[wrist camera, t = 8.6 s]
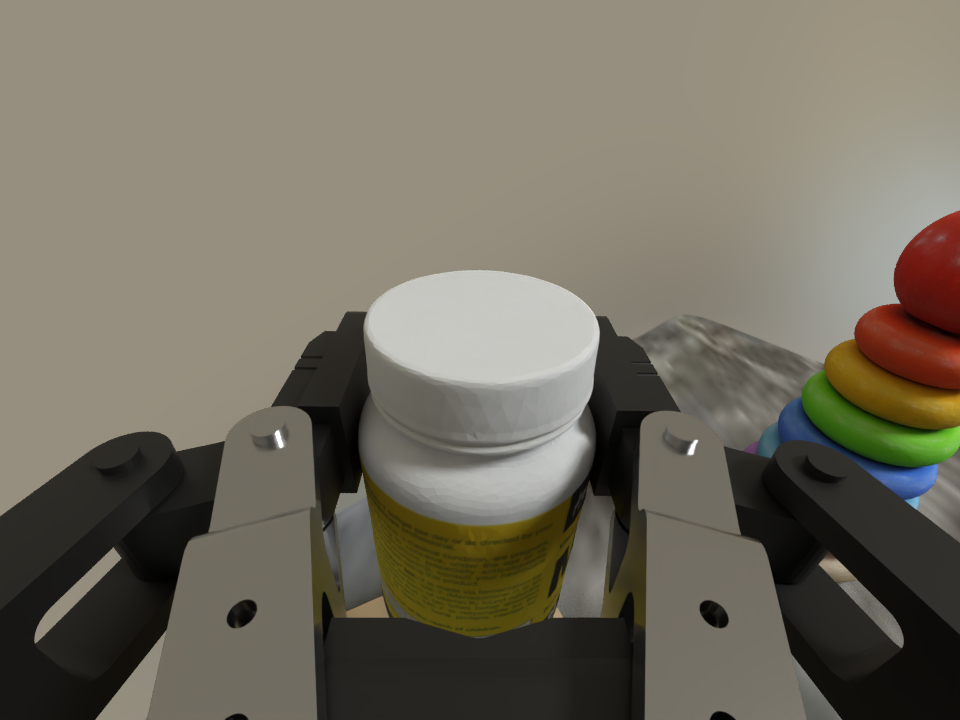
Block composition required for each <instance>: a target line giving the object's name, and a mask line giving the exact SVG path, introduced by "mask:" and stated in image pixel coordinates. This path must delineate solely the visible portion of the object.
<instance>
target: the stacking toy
mask: <svg viewBox="0 0 960 720" xmlns="http://www.w3.org/2000/svg"><path fill="white" fill-rule="evenodd" d="M894 287H895V292H896V295H897V297H898V299H899V301H900V303H901V304H890V305H883V306H879V307H876V308H874V309H872V310H870V311H868V312H867V313H865V314H864V315H863V316H862V317H861V318H860V319H859V321H858V323H857V325H856V327H855V332H854V335H855V339H852V340H849V341H845V342H843V343H841V344H839V345H837V346H836V347H834V348H833V349H832V350H831V351H830V352H829V353H828V355H827V357H826V359H825V364H824V370H823V371H821V372H818V373H817V374H815V375H814V376H812V377H811V378H810V379H809V380H808V381H807V382H806V384H805V386H804V388H803V391H802V397H799V398H797V399H795V400H793V401H791V402H790V403H789V404H787V405H786V406H785V407H784V409H783V410H782V412H781V414H780V416H779V420H778V422H777V423H775V424H773V425H771V426H770V427H769V428H767V429H766V430H765V431H764V433H763V434H762V436H761V438H760V440H759V441H757V442H755V443H753V444H751V445H750V446H748V447H747V448H746V449H745V450H744V451H743V452H747V453H752V454H756V455H760V456H764V457H768V458H771V457H772V455H773V454H774V452H775V450H776V449H777V447H778V446H779V445H780V444H782V443H783V442H786V441H791V440H803V441H810V442H814V443H818V444H821V445H824V446H827V447H829V448H832V449H834V450H836V451H838V452H840V453H842V454H843V455H845V456H847V457H848V458H850V459H851V460H853V461H854V462H855V463H857V464H858V465H859V466H861V467H862V468H863V469H864V470H866V471H867V472H868V473H870V474H871V475H872V476H874V477H875V478H876V479H877V480H879V481H880V482H881V483H883V484H884V485H885V486H886V487H888V488H889V489H890V490H892V491H893V492H894V493H896V494H897V495H898V496H899V497H901V498H902V499H903V500H905V501H906V502H907V503H909V504H910V505H911V506H912V507H914V508H915V509H916V510H917V509H918V506H919V500H920V498H919V496H920V495H922V494H924V493H925V492H927V491H928V490H929V489H930V488H931V487H932V486H933V484H934V483H935V481H936V478H937V475H938V465H937V464H938V463H941V462H943V461H945V460H947V459H948V458H950V457H951V456H952V455H953V454H954V453H955V452H956V451H957V449H958V448H959V446H960V211H957V212H955V213H952V214H949V215H947V216H945V217H943V218H941V219H939V220H937V221H935V222H934V223H932V224H930V225H929V226H927V227H926V228H925V229H923V230H922V231H921V232H920V233H918V234H917V235H916V236H915V237H914V238H913V239H912V240H911V241H910V242H909V244H908V245H907V246H906V247H905V249H904V250H903V252H902V254H901V255H900V257H899V260H898V262H897V264H896V268H895V271H894ZM819 565H820V566H821V567H822V568H823V569H824V570H825V571H826V573H827V574H828V575H829V576H830V577H831V578H832V579H833V580H834V581H835V582H851V581H856V580H857V579H856V578H855V577H854V576H853V575H852V574H851V573H850V572H849V571H848V570H847V569H846V568H845V567H844V566H843V565H842V564H841V563H840V562H839V561H838V560H837V559H836V558H835V557H834V556H833V555H832V554H831V553H830V552H829V553H828V554H827V555H826V556H825V558H824V559H823V560H822V561H821V562H820V564H819Z"/></svg>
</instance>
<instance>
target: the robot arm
mask: <svg viewBox="0 0 960 720" xmlns="http://www.w3.org/2000/svg"><path fill="white" fill-rule="evenodd" d="M366 314H367V312H346V313H345V315H344V317H343V319H342V321H341V323H340V325H339V327H338V329H337V331H325V332H323V333H322V334H320V335H319V336H317V337H316V338H315V339H313V340H312V341H311V342H309V344H308V345H307V347H306V349H305V350H304V352H303V354H302V355H301V359H299V360H298V362H297V364H296V365H295V370H293V371H292V372H291V374H290V376H289V377H288V379H287V381H286V382H285V384H284V386H283V387H282V389H281V391H280V392H279V394H278V396H277V398H276V399H275V401H274V403H273V404H272V406H271V407H270V408H265V409H262V410H259V411H256V412H254V413H252V414H250V415H248V416H246V417H244V418H243V419H241V420H240V421H239V422H238V423H237V424H235V425H234V426H233V428H232V429H231V430H230V431H229V433H228V435H227V436H226V440H225V441H223V442H219V443H215V444H210V445H206V446H201V447H196V448H191V449H187V450H182V451H177V452H176V450H175V448H174V446H173V444H172V443H171V441H170V439H169V438H168V437H167V436H165V435H163V434H161V433H157V432H136V433H132V434H127V435H124V436H120V437H117V438H114V439H112V440H109V441H107V442H105V443H103V444H101V445H99V446H97V447H96V448H94V449H92V450H91V451H90V452H88V453H86V454H85V455H84V456H82V457H81V458H79V459H78V460H77V461H75V462H74V463H73V464H71V465H70V466H68V467H67V468H66V469H65V470H63V471H62V472H60V473H59V474H58V475H56V476H55V477H53V478H52V479H51V480H49V481H48V482H47V483H45V484H44V485H42V486H41V487H40V488H38V489H37V490H36V491H34V492H33V493H32V494H30V495H29V496H27V497H26V498H25V499H23V500H22V501H21V502H19V503H18V504H16V505H15V506H14V507H12V508H11V509H10V510H8V511H7V512H6V513H4V514H3V515H2V516H0V720H95V719H96V718H97V716H98V715H99V714H100V713H101V712H102V710H103V709H104V708H105V707H106V705H107V704H108V703H109V701H110V700H111V699H112V698H113V697H114V695H115V694H116V693H117V692H118V690H119V689H120V688H121V686H122V685H123V684H124V683H125V681H126V680H127V679H128V678H129V676H130V675H131V674H132V673H133V671H134V670H135V669H136V668H137V666H138V665H139V664H140V662H141V661H142V660H143V659H144V657H145V656H146V655H147V654H148V652H149V651H150V650H151V649H152V647H153V646H154V645H155V643H156V642H157V641H158V640H159V639H160V637H161V636H162V635H163V634H164V632H165V631H166V630H167V631H166V636H165V641H164V645H163V649H162V654H161V659H160V663H159V668H158V672H157V677H156V681H155V686H154V690H153V695H152V699H151V704H150V709H149V713H148V718H147V720H807V719H806V715H805V711H804V707H803V702H802V698H801V694H800V690H799V686H798V682H797V677H796V673H795V669H794V665H793V661H792V656H791V654H792V655H793V656H794V658H795V659H796V660H797V662H798V663H799V664H800V666H801V667H802V668H803V669H804V671H805V672H806V673H807V675H808V676H809V677H810V679H811V680H812V681H813V682H814V684H815V685H816V686H817V688H818V689H819V690H820V692H821V693H822V694H823V695H824V697H825V698H826V699H827V701H828V702H829V703H830V704H831V706H832V707H833V708H834V710H835V711H836V712H837V714H838V715H839V716H840V717H841V719H842V720H960V543H959V542H958V541H957V540H955V539H954V538H953V537H951V536H950V535H949V534H947V533H946V532H945V531H944V530H942V529H941V528H940V527H938V526H937V525H936V524H934V523H933V522H932V521H931V520H929V519H928V518H927V517H925V516H924V515H923V514H922V513H920V512H919V511H918V510H916V509H915V508H914V507H912V506H911V505H910V504H909V503H907V502H906V501H905V500H903V499H902V498H901V497H899V496H898V495H897V494H896V493H894V492H893V491H892V490H890V489H889V488H888V487H886V486H885V485H884V484H883V483H881V482H880V481H879V480H877V479H876V478H875V477H874V476H872V475H871V474H870V473H868V472H867V471H866V470H864V469H863V468H862V467H861V466H859V465H858V464H857V463H855V462H854V461H853V460H851V459H850V458H848V457H847V456H845V455H843V454H842V453H840V452H838V451H836V450H834V449H832V448H829V447H827V446H824V445H821V444H818V443H814V442H810V441H803V440H791V441H786V442H783V443H782V444H780V445H779V446H778V447H777V449H776V450H775V452H774V454H773V455H772V457H771V458H768V457H764V456H760V455H756V454H752V453H747V452H743V451H739V450H735V449H731V448H728V447H725V446H723V443H722V440H721V439H720V437H719V435H718V434H717V433H716V432H715V431H714V430H713V429H712V428H711V427H710V426H708V425H707V424H706V423H704V422H703V421H701V420H699V419H697V418H695V417H693V416H690V415H687V414H684V413H681V412H680V410H679V408H678V407H677V405H676V403H675V401H674V400H673V398H672V396H671V395H670V393H669V391H668V390H667V388H666V386H665V385H664V383H663V381H662V380H661V378H660V376H657V371H656V370H655V368H654V366H653V365H652V364H651V361H650V360H649V358H648V356H647V355H646V353H645V351H644V349H643V348H642V347H640V346H639V345H638V344H636V343H635V342H634V341H633V340H631V339H630V338H629V337H622V336H617V335H616V333H615V331H614V329H613V327H612V325H611V323H610V321H609V319H608V318H607V317H605V316H595V317H596V319H597V321H598V325H599V331H600V337H599V345H598V351H597V357H596V363H595V370H594V382H593V390H592V393H591V397H590V399H589V401H588V403H587V404H588V406H589V408H590V411H591V413H592V416H593V419H594V424H595V428H596V451H595V456H594V463H593V469H592V472H591V476H590V483H591V486H592V490H593V493H594V496H612V499H613V502H614V505H615V507H614V510H613V514H612V517H611V522H610V533H609V544H608V554H607V565H606V576H605V587H604V598H603V606H602V612H601V617H600V618H550V619H547V620H543V621H540V622H537V623H533V624H530V625H527V626H523V627H520V628H516V629H513V630H510V631H506V632H503V633H499V634H496V635H493V636H489V637H485V638H473V637H469V636H465V635H462V634H459V633H455V632H452V631H448V630H445V629H442V628H438V627H435V626H431V625H428V624H424V623H421V622H418V621H414V620H411V619H407V618H347V614H346V608H345V600H344V590H343V580H342V570H341V559H340V549H339V539H338V528H337V519H336V514H335V508H336V505H337V501H338V498H339V495H340V493H357V491H358V487H359V483H360V480H361V476H362V467H361V462H360V456H359V450H358V429H359V421H360V416H361V412H362V409H363V406H364V404H365V402H366V400H367V397H368V396H369V394H370V393H371V390H370V387H369V384H368V376H367V361H366V352H365V344H364V330H363V327H364V320H365V317H366ZM113 547H114V548H115V550H116V551H117V552H118V554H119V555H120V556H121V558H122V559H121V560H120V561H119V562H118V563H117V564H116V565H115V566H114V567H113V568H112V569H111V570H110V571H109V572H108V573H107V574H106V575H105V576H104V577H103V578H102V579H101V580H100V581H99V582H98V583H97V584H96V585H95V586H94V587H93V588H92V589H91V590H90V591H89V592H88V593H87V594H86V595H85V596H84V597H83V598H82V599H81V600H80V601H79V602H78V603H77V604H76V605H75V606H74V607H73V608H72V609H71V610H70V611H69V612H68V613H67V614H66V615H65V616H64V617H63V618H62V619H61V620H60V621H58V622H57V623H56V625H55V626H53V628H52V629H50V630H49V632H47V633H46V634H45V636H44V637H42V638H41V639H40V640H39V641H38V642H37V643H36V644H35V643H34V636H35V632H36V629H37V626H38V624H39V622H40V620H41V619H42V618H43V616H44V615H45V613H46V612H47V611H48V610H49V609H50V608H51V606H53V605H54V604H55V603H56V602H57V601H58V600H59V599H60V598H61V597H62V596H63V595H64V594H65V593H66V592H67V591H68V590H69V589H70V588H71V587H72V586H73V585H74V584H75V583H76V582H77V581H79V580H80V579H81V578H82V577H83V576H84V575H85V574H86V573H87V572H88V571H89V570H90V569H91V568H92V567H93V566H94V565H95V564H96V563H97V562H98V561H99V560H101V558H103V556H105V555H106V554H107V553H108V552H109V551H110V550H111V549H112V548H113ZM829 552H830V553H831V554H832V555H833V556H834V557H835V558H836V559H837V560H838V561H839V562H840V563H841V564H842V565H843V566H844V567H845V568H846V569H847V570H848V571H849V572H850V573H851V574H852V575H853V576H854V577H855V578H856V579H857V580H858V581H859V582H860V583H861V584H862V585H863V586H864V587H865V588H866V589H867V590H868V591H869V592H870V593H871V594H872V595H873V596H874V597H875V598H876V599H877V600H878V601H879V602H880V603H881V604H882V605H883V606H884V607H885V608H886V609H887V610H888V611H889V612H890V613H891V614H892V615H893V616H894V618H895V619H896V621H897V622H898V624H899V626H900V628H901V630H902V633H903V637H904V645H903V647H902V648H900V647H899V646H898V645H896V644H895V643H894V642H893V641H892V640H891V639H890V638H889V637H888V636H887V635H886V634H885V633H884V632H883V631H882V630H881V629H880V628H879V627H878V626H877V625H876V624H875V622H874V621H873V620H872V619H871V618H870V617H869V616H868V615H867V614H866V613H865V612H864V611H863V610H862V609H861V608H860V607H859V606H858V605H857V604H856V603H855V602H854V601H853V600H852V599H851V598H850V596H849V595H848V594H847V593H846V592H845V591H844V590H843V589H842V588H841V587H840V586H839V585H838V584H837V583H836V582H835V581H834V580H833V579H832V578H831V577H830V576H829V575H828V574H827V573H826V571H825V570H824V569H823V568H822V567H821V566H820V565H819V564H820V562H821V561H822V560H823V559H824V558H825V556H826V555H827V554H828V553H829Z"/></svg>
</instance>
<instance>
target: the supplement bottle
mask: <svg viewBox="0 0 960 720" xmlns="http://www.w3.org/2000/svg"><path fill="white" fill-rule="evenodd" d="M363 330H364V344H365V352H366V361H367V376H368V384H369V387H370V390H371V393H370V394H369V396H368V397H367V400H366V402H365V404H364V406H363V409H362V412H361V416H360V421H359V429H358V450H359V456H360V462H361V467H362V472H363V477H364V483H365V488H366V493H367V500H368V506H369V511H370V517H371V523H372V528H373V535H374V541H375V547H376V554H377V560H378V567H379V573H380V579H381V585H382V591H383V598H384V602H385V606H386V611H387V614H388V617H389V618H407V619H411V620H414V621H418V622H421V623H424V624H428V625H431V626H435V627H438V628H442V629H445V630H448V631H452V632H455V633H459V634H462V635H465V636H469V637H473V638H485V637H489V636H493V635H496V634H499V633H503V632H506V631H510V630H513V629H516V628H520V627H523V626H527V625H530V624H533V623H537V622H540V621H543V620H547V619H550V618H553V616H554V613H555V610H556V607H557V603H558V600H559V596H560V591H561V588H562V582H563V579H564V575H565V571H566V567H567V564H568V560H569V556H570V553H571V550H572V547H573V542H574V537H575V532H576V529H577V524H578V521H579V517H580V513H581V509H582V505H583V503H584V500H585V496H586V490H587V486H588V482H589V479H590V476H591V472H592V469H593V463H594V456H595V451H596V428H595V424H594V419H593V416H592V413H591V411H590V408H589V406H588V404H587V403H588V401H589V399H590V397H591V393H592V390H593V382H594V370H595V363H596V357H597V351H598V345H599V337H600V331H599V325H598V321H597V319H596V317H595V315H594V313H593V312H592V310H591V309H590V308H589V307H588V306H587V305H586V303H584V302H583V301H582V300H581V299H580V298H578V297H577V296H575V295H574V294H572V293H571V292H569V291H567V290H565V289H563V288H561V287H559V286H557V285H554V284H552V283H549V282H546V281H543V280H540V279H537V278H533V277H530V276H525V275H520V274H515V273H508V272H500V271H485V270H481V271H480V270H479V271H478V270H470V271H454V272H445V273H439V274H432V275H429V276H424V277H419V278H417V279H413V280H410V281H407V282H405V283H402V284H400V285H398V286H396V287H394V288H392V289H390V290H388V291H387V292H386V293H384V294H383V295H381V296H380V297H379V298H378V299H377V300H376V301H375V302H374V303H373V304H372V305H371V306H370V308H369V310H368V311H367V314H366V317H365V320H364V327H363Z"/></svg>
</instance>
